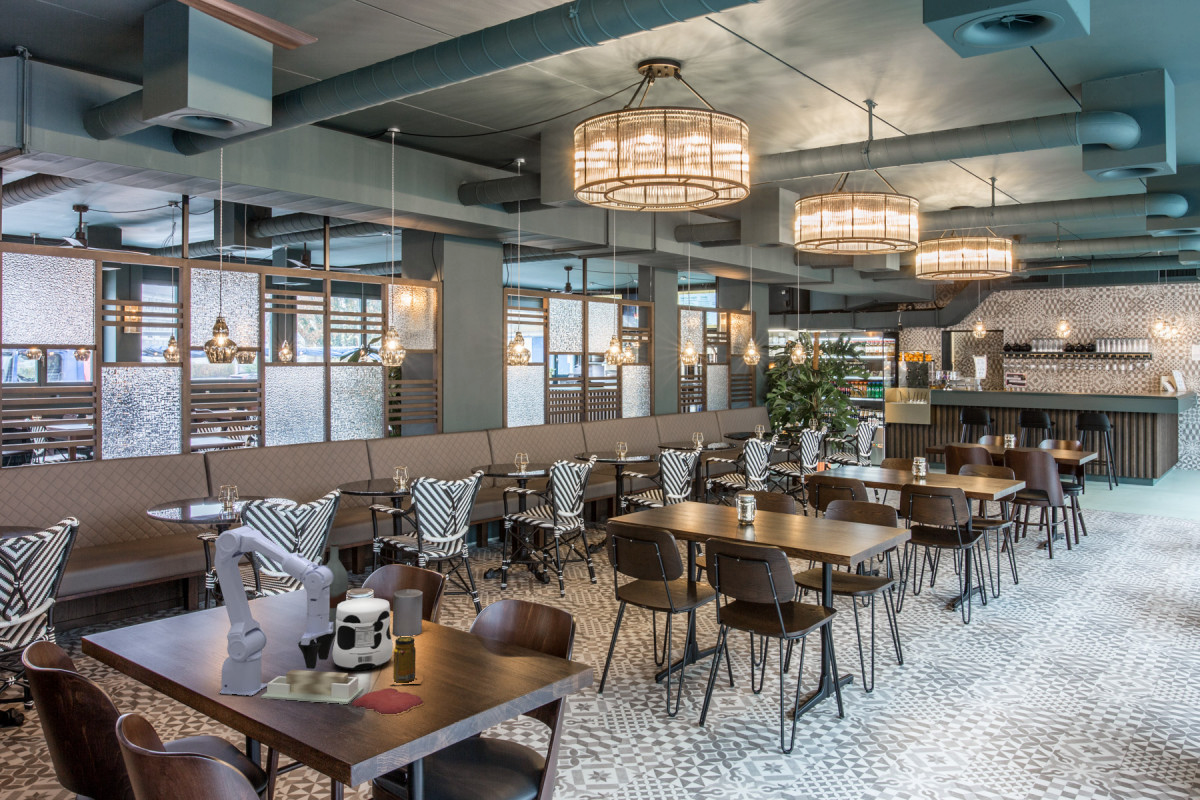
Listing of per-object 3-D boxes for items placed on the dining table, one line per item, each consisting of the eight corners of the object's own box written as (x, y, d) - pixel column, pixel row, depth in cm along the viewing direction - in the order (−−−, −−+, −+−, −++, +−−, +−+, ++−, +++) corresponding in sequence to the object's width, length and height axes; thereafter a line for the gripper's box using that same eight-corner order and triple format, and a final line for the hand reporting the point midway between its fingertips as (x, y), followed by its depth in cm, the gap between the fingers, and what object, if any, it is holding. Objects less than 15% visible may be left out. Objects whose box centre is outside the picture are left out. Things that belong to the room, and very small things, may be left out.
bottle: (312, 633, 267) (314, 544, 267) (329, 626, 276) (330, 539, 276) (336, 636, 264) (338, 546, 264) (353, 629, 273) (354, 541, 273)
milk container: (364, 651, 250) (365, 594, 250) (404, 661, 241) (405, 602, 241) (319, 667, 236) (320, 606, 235) (360, 678, 227) (361, 615, 226)
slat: (285, 692, 213) (286, 673, 213) (291, 688, 216) (291, 669, 216) (342, 695, 211) (343, 677, 211) (347, 691, 214) (348, 673, 214)
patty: (345, 706, 208) (345, 698, 208) (384, 689, 220) (384, 682, 220) (394, 721, 199) (394, 713, 199) (432, 703, 211) (432, 695, 211)
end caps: (267, 693, 213) (267, 679, 212) (278, 685, 218) (278, 672, 218) (348, 698, 210) (348, 685, 210) (358, 690, 216) (358, 677, 216)
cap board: (260, 698, 210) (261, 695, 210) (280, 685, 220) (280, 682, 220) (347, 704, 208) (347, 701, 208) (363, 690, 218) (363, 687, 218)
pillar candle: (390, 630, 272) (390, 586, 272) (418, 627, 277) (419, 584, 276) (395, 639, 264) (396, 594, 263) (425, 635, 268) (425, 591, 267)
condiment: (394, 676, 229) (394, 635, 229) (424, 676, 229) (424, 634, 229) (389, 686, 221) (390, 643, 221) (420, 685, 222) (421, 642, 222)
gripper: (319, 621, 206) (318, 673, 206) (344, 606, 220) (343, 655, 221) (293, 620, 207) (292, 672, 207) (319, 605, 221) (319, 654, 221)
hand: (317, 663), depth 214 cm, fingers open, 6 cm apart
